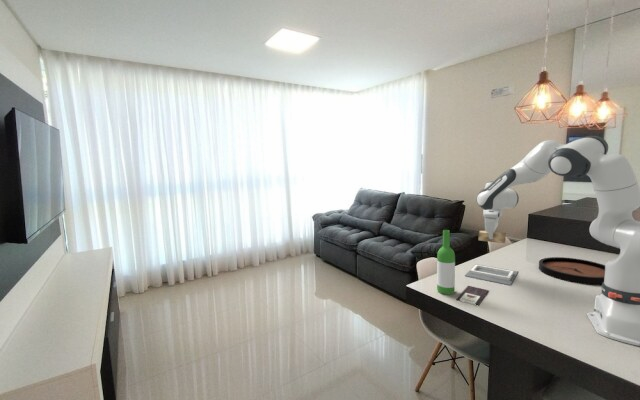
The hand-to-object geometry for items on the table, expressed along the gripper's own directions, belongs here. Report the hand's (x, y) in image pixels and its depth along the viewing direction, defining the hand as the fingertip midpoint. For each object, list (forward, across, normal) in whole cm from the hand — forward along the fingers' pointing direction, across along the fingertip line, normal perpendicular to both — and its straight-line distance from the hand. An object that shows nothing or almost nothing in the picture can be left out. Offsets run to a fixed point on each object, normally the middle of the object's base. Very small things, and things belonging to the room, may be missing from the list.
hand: (491, 237), depth 157 cm
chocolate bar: (+22, +31, -3) cm, 38 cm away
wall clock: (+20, -25, +37) cm, 49 cm away
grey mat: (+21, -2, +1) cm, 21 cm away
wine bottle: (+21, +33, -14) cm, 42 cm away
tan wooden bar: (+2, 0, 0) cm, 2 cm away
